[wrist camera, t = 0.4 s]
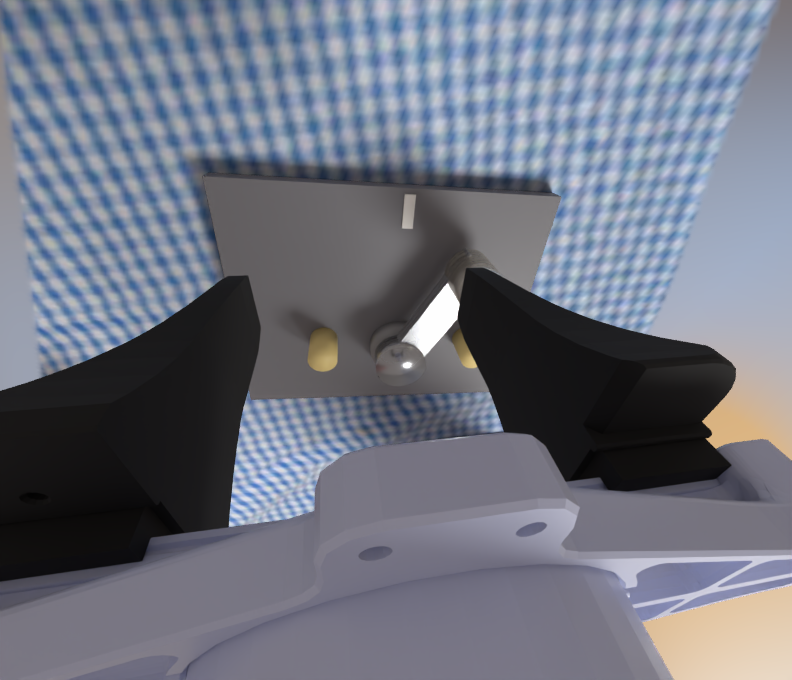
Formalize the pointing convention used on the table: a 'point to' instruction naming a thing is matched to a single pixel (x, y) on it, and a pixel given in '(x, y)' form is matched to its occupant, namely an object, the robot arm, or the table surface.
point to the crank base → (362, 272)
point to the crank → (427, 323)
